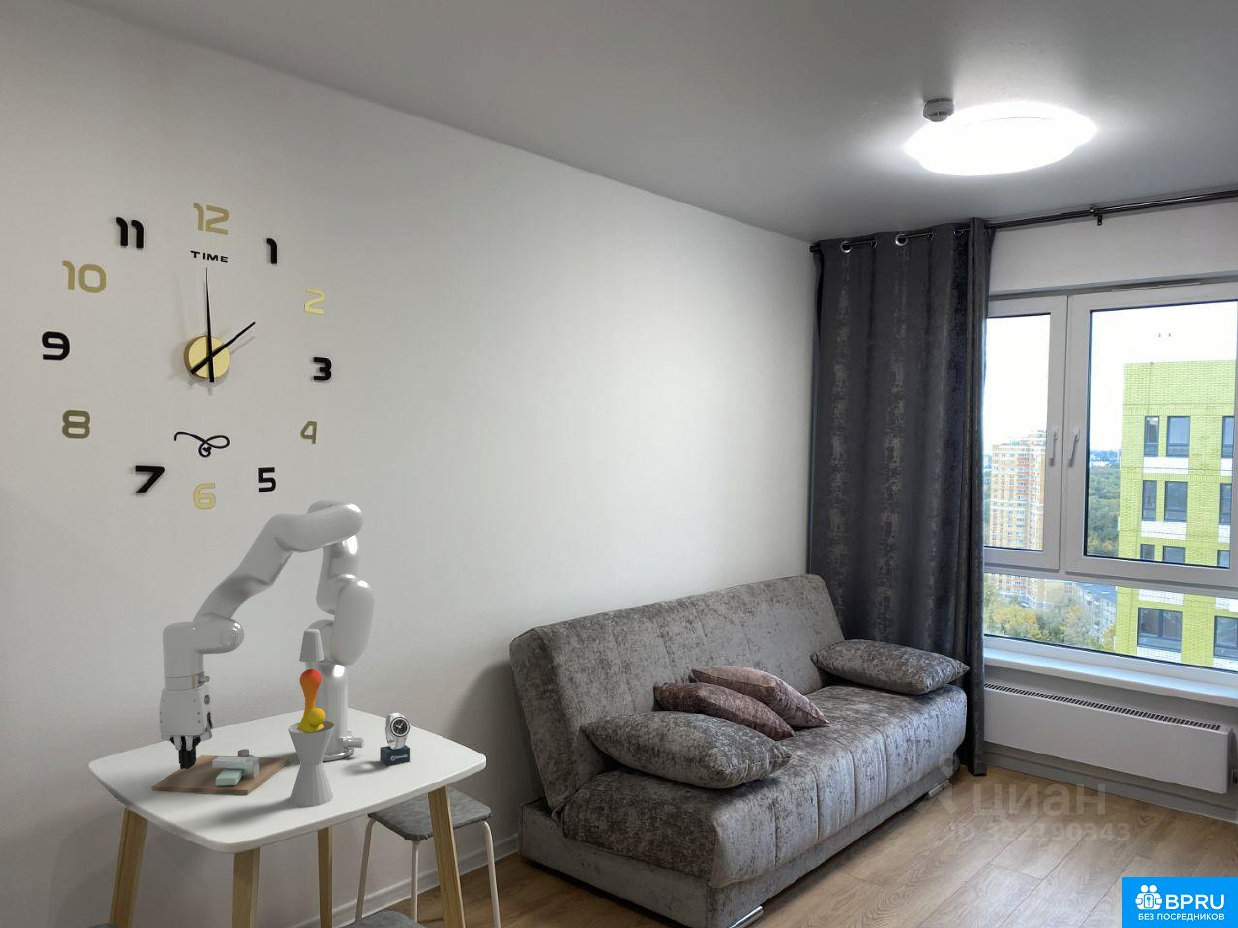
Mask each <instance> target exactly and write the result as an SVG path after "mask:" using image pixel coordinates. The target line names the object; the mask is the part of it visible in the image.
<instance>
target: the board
mask: <svg viewBox="0 0 1238 928" xmlns="http://www.w3.org/2000/svg"><path fill="white" fill-rule="evenodd" d="M249 755H250V749H247V748H246V749H245V748H244V749H239V750H237V756H238V757H249ZM219 756H220V755H210V754H209V755H208V754H201V755H200V756H198V757H196V762H195V765H193V766H192V767H191V768H189V769H185V768H184V769H180V768H178V769H177V770H176V771H174V772H172V773H171V774H170V775H167V776H166V777H165V778H163V779H161V780H160V781H157V782H156V783H155V784H153V785H152V786H151V791H152V792H170V793H171V792H172V793H195V794H196V793H199V794H200V793H202V794H221V795H223V794H226V795H228V794H229V795H249V794H251V793H252V792H253V791H254V790H256V789H258V787H260V786H261V785H263V783H265V782H266V781H268V780H269V779H270V778H272V777H273V776H274V775H276V773H278V772H279V771H280V770H282V769H283V768H284V767H286V766H287V765H289V764H290V757H271V756H270V757H269V756H267V757H266V756H257V757H258V758H259V775H258V776H257V777H256V778H254V779H247V778H243V777H242V778H241V779H240V780H239V781H238V783H237V784H236V785H218V786H216V778H217V777H218V776H219V774H220V773H221V772H222V771H223V770H224V769H225V768H212V761H213V760H214V759H216V758H217V757H219ZM227 756H228V757H236V755H227Z"/></svg>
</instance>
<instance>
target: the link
mask: <svg viewBox="0 0 1238 928" xmlns="http://www.w3.org/2000/svg"><path fill="white" fill-rule="evenodd" d="M235 756H236V755H235ZM236 757H238V755H237V756H236ZM249 757H255V755H253V754H249ZM242 777H243V769H236V768H225V769H224V770H223V771H222V772H221V773H220V774H219V776H218V777H217V778H216V786H218V785H236V784H237V783H238V781H239V780H240V779H241V778H242Z"/></svg>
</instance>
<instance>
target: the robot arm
mask: <svg viewBox="0 0 1238 928" xmlns="http://www.w3.org/2000/svg"><path fill="white" fill-rule="evenodd" d="M363 514H364V513H363V512H362V510H361V509H360V508H359V507H358V506H357V505H356V504H354V503H352V502H348V501H340V500H331V499H325V500H317V501H315V502H313V503H312V504H310V505H309V507H308V509H307V511H306V513H303V514H301V513H300V514H297V513H288V512H287V513H285V512H284V513H277V514H275V515H272V516H271V517H270V518H269V519H268V520H267V522H266V523H265V524H264V526H263V528H262V529H261V531H260V532H259V534H258V535H257V537H256V538H255V540H254V542H253V543H252V545H251V546H250V548H249V549H248V551H247V553H246V554H245V555H244V557H243V558H242V559H241V561H240V563H239V564H238V566H237V567H236V569H234V570H233V571H232V572H231V573H229V575H227V576H226V577H225V578H224V579H223V580H222V581H221V582H220V583H219V584H218V585H217V586H215V587H214V589H213V590H212V591H211V592H210V593H209V595H207V597H206V598H205V600H204V601H203V603H202V605H201V606H200V608H199V609H198V610H197V612H196V614H195V615H194V617H193V618H192V620H191V621H180V622H174V623H170V624H167V625H166V626H165V627H164V628H163V631H162V647H163V648H162V649H163V672H164V673H163V674H164V675H163V676H164V688H163V689H162V690H161V695H160V702H159V709H158V726H159V732H160V734H161V735H160V739H161V740H163V741H167V742H170V743H171V744H172V745H173V746H174V748H175V750H176V751H178V764H179V769H184V768H185V769H189V768H191V767H192V766H193V765H195V762H196V758H197V747H198V746H199V744H200V743H201V742H205V741H209V740H211V739H212V738H213V734H212V730H213V729H214V728H215V713H214V705H213V704H214V703H213V699H212V695H211V691H210V688H209V684H206V683H209V682H210V679H211V678H210V676H209V675H205V671H204V655H220V654H221V655H222V654H228V653H231V652H233V651H235V650H237V649H238V648H239V647H240V646H241V645H242V643H243V641H244V638H245V630H244V627H243V626H242V625H241V623H239V622H238V621H237V620H235V619H233V616H234V615H235V613H236V612H237V611H238V610H239V608H240V607H241V606H242V605H243V604H245V602H247V601H248V600H249V599H251V598H253V597H254V596H257V595H259V594H261V593H263V592H265V591H267V590H268V589H270V588H271V587H273V586H274V584H275V582H276V581H277V579H278V578H279V576H280V575H281V572H282V571H283V569H284V568H285V566H286V564H288V561H290V558H291V557H292V556H293V554H294V553H299V554H300V553H301V554H302V553H307V552H312V551H315V550H319V549H322V562H321V563H322V564H321V567H320V568H321V569H320V573H319V574H320V575H319V578H318V583H317V584H318V585H317V590H316V595H315V596H316V597H315V601H316V606H317V607H318V608H319V610H320V611H322V612H324V613H326V614H329V615H332V616H333V619H327V618H326V619H325V618H324V619H318V620H316V621H314V622H312V623H311V624H309V625H308V626H307V628H306V629H305V630H307V629H318V630H319V631H320V636H321V642H322V648H323V654H324V660H322V661H318V662H304V667H305V671H306V670H308V669H315V670H317V671H318V672H319V673H320V674H321V678H322V680H321V684H320V686H319V689H318V692H317V696H316V702H315V708H320V709H322V710H323V711H324V712H325V720H324V721H329V722H332V723H334V728H333V732H332V734H331V737H330V740H329V743H328V746H327V749H326V752H325V755H324V758H323V761H322V762H326V761H327V762H328V761H334V760H335V761H337V760H339V759H343V758H346V757H348V756H350V755H352V754H353V753H354V751H355V749H363V748H364V746H365V739H364V738H363V737H360V736H359V737H354V736H353V733H352V730H348V728H349V724H348V722H349V717H348V715H349V711H348V709H349V705H348V703H349V700H348V697H349V694H348V693H349V688H348V687H349V676H348V675H349V674H348V669H347V668H348V667H351V666H354V665H356V664H357V663H358V662H360V660H361V659H362V658H363V657H364V656H365V653H366V649H367V647H368V644H369V639H370V633H371V626H372V621H373V618H374V617H373V616H374V610H375V602H376V601H375V593H374V590H373V588H372V587H371V585H370V584H369V583H368V582H366V580H363V579H362V578H359V577H358V575H359V570H360V569H359V566H360V561H361V548H360V547H361V546H360V542H359V539H358V537H357V534H358V533H359V532H360V531H361V530H362V529H363V528H362V527H363V525H364V515H363Z"/></svg>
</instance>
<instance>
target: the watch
mask: <svg viewBox="0 0 1238 928" xmlns="http://www.w3.org/2000/svg"><path fill="white" fill-rule="evenodd" d="M384 724H385V727H384V734H385V740H386V743H387V744H388V746H381V747H380V749H379V750H380V751H379V752H380V758H379V759H380V760H379V761H380V762H381V763H383V764H384V765H385V766H386V767H390V766H395V765H401V764H405V762H406V763H410V762H411V748H410V747H409V746H407V745H406V742H407V740H408V738H409V735H410V731H411V728H412V724H411V723H410V722H409V720H408V718H406V717H405V715H403V714H401V713H400V712H393V713H389V714H386V718H385V723H384ZM400 763H401V764H400Z"/></svg>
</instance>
